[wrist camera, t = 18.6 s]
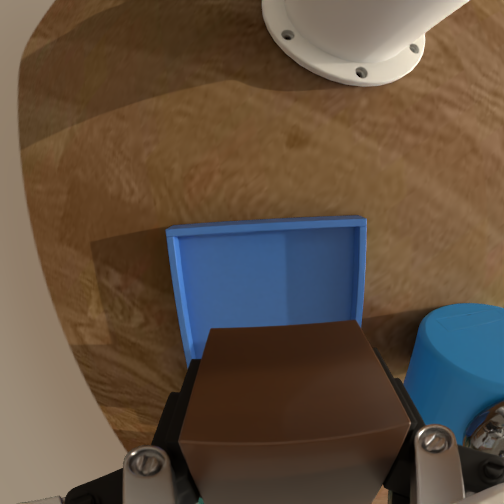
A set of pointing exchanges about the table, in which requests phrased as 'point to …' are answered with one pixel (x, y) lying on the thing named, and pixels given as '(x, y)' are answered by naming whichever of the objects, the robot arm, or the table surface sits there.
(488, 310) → the alarm clock
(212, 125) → the table surface
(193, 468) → the walnut block
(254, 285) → the blue shallow tray
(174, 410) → the robot arm
